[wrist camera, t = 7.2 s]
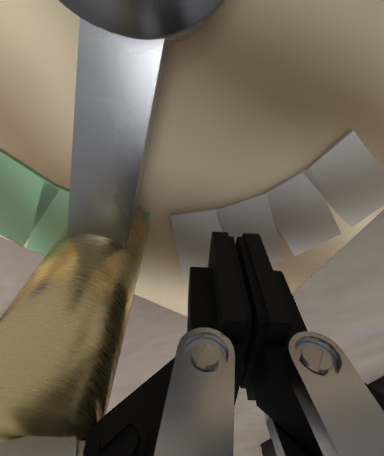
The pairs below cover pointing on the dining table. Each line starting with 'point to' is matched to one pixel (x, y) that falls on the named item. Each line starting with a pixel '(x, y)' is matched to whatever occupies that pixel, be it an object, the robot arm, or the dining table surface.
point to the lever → (93, 224)
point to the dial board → (212, 134)
